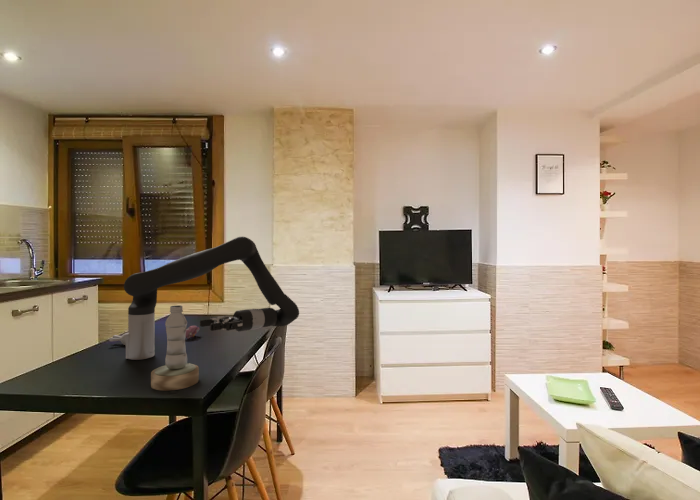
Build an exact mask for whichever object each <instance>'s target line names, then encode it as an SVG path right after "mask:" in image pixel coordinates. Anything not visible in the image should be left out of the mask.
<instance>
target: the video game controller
mask: <svg viewBox="0 0 700 500" xmlns="http://www.w3.org/2000/svg"><path fill="white" fill-rule="evenodd" d="M199 331H200V327H199V326H198V325H190V326H189V327H186V335H185V339H188V340H189V339H191V338H194V337H195V335H196V334H198V333H199Z"/></svg>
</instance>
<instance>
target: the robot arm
mask: <svg viewBox="0 0 700 500" xmlns="http://www.w3.org/2000/svg"><path fill="white" fill-rule="evenodd" d="M239 260H240V261H241V262H242V263H243V264H244V265H245V266H246V268H247V269H248V270H249V272H250V273H251V274H252V276H253V278H254V280H255V282H256V284H257V286H258V288H259V290H260V292H261V294H262V295H263V297H264V298H265V300H266V301H267V302H268V304H269V305H271V306H274V305H276V306H277V307H278V308H279V309H274V308H273V307H262V308H247V309H238V310H236V311H235V312H234V313H233V316H231V315H220V316H210V317H209V318H208V319H200V320H199V326H200V327H201V328H202V327H203V328H204V327H209V330H210V331H221V330H222V331H227V332H228V331H233V330H235V331H237V332H239V333H240V332H246V331H251V330H257V329H261V328H266V327H267V328H268V327H285V326H288V325H290V324H291V323H293V322H295V320H297V319H298V318H299V316H300V310H299V307H298V305H297V304H296V302H294V300H292V298H290V297H289V296H288V295H287V294H286V293H284V291H283V290H282V288H281V287H280V286H281V285H279V283H278V282H277V280H276V279H275V278H274V276H273V275H272V274H271V272H270V270H269V269H268V268H267V266H266V264H265V262H264V260H263V259H262V257H261V255H260V252H259V251H258V248H257V246H256V243H255V242H254V241H253V240H252V239H251V238H249V237H247V236H237V237H235V238H232V239H231V240H228V241H226V242H224V243H221V244H220V245H218V246H214V247H212V248H207V249H204V250H201V251H197V252H194V253H192V254H188V255H185V256H182V257H181V258H178V259H175V260H172V261H170V262H168V263H166V264H164V265H162V266H159V267H157V268H154V269H151V270H150V269H149V270H146V271H143V272H136V273H132V274H131V275H130V276H128V277H127V278H126V279H125V281H124V283H123V289H124V292H125V293H126V294H127V295H129V296H131V297H132V301H131V303H130V305H129V306H128V309H127V314H128V315H127V319H128V320H127V322H128V323H127V325H128V327H127V332H126V333H127V334H126V345H125V359H128V360H133V361H134V360H136V361H138V360H146V359H150V358H153V357H154V356H155V355H156V354H155V351H156V350H155V344H156V343H155V339H156V338H155V333H156V332H155V330H156V329H155V325H156V323H155V320H156V319H155V316H156V315H155V312H156V311H155V310H156V309H155V308H156V306H157V301H158V289H160V288H163V287H164V286H168V285H174V284H177V283H182V282H186V281H189V280H192V279H196V278H198V277H202V276H204V275H207V274H208V273H210V272H211V271H213V270H215V269H217V267H219V266H222V265H224V264H227V263H230V262H234V261H239Z"/></svg>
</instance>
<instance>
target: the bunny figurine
mask: <svg viewBox="0 0 700 500" xmlns="http://www.w3.org/2000/svg"><path fill="white" fill-rule="evenodd" d="M127 333H128V332H125V333H123V334H122V335H117V334H115V335H112V337H110V338H109V340H108V341H109V342H121V344H122V345H123V346H124V345H125V346H126V334H127Z"/></svg>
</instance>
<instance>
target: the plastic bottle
mask: <svg viewBox="0 0 700 500" xmlns="http://www.w3.org/2000/svg"><path fill="white" fill-rule="evenodd" d="M169 307H170V308H169V313H170V314H169V316H168V317H167V318H166V320H165V322H164V324H165V332H166V340H167V343H166V355H165V359H164V361H165V362H164V364H165V365H166V367H167V368H168V369H180V368H183V367H185V366H186V364H187V363H188V354H187V351H186V350H187V349H186V348H187V347H186V338H185V335H186V329H187V328H188V327H187V325H188V321H187V319H186V317H185V315H184V314H183V312H184V308H183V305H182V304H181V305H170V306H169Z"/></svg>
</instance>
